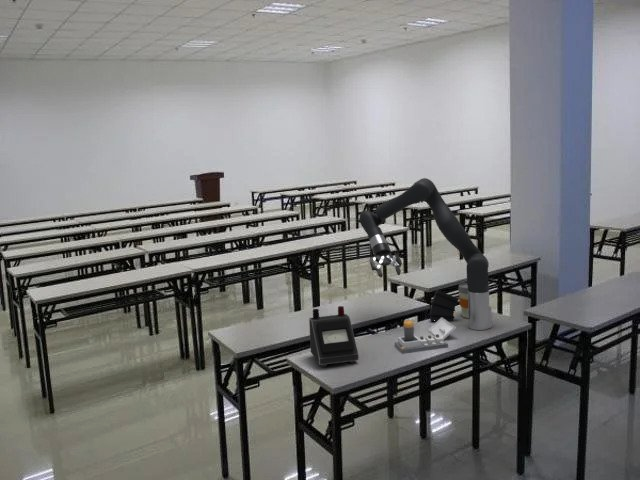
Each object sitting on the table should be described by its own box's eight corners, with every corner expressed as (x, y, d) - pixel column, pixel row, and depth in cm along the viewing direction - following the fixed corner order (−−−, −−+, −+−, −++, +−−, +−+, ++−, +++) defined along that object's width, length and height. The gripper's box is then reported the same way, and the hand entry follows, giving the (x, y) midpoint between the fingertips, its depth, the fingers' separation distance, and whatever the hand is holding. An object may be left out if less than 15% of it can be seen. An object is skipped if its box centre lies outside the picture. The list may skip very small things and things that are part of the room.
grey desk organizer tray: (439, 339, 255) (438, 330, 255) (447, 347, 246) (447, 338, 245) (394, 345, 252) (394, 336, 251) (402, 353, 242) (401, 344, 242)
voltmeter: (319, 368, 231) (317, 319, 228) (310, 355, 247) (308, 309, 244) (358, 363, 235) (357, 315, 232) (347, 350, 250) (346, 305, 248)
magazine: (423, 316, 283) (436, 289, 280) (448, 327, 283) (461, 299, 281) (424, 319, 279) (437, 290, 277) (449, 329, 279) (462, 301, 277)
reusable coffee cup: (474, 320, 276) (474, 289, 274) (453, 316, 286) (452, 285, 284) (490, 315, 284) (490, 285, 282) (469, 310, 294) (468, 281, 292)
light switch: (460, 332, 255) (446, 322, 269) (453, 325, 254) (440, 315, 268) (446, 346, 254) (433, 335, 269) (439, 338, 253) (427, 328, 267)
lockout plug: (412, 342, 250) (411, 319, 248) (415, 345, 246) (414, 322, 244) (403, 343, 249) (402, 321, 248) (406, 346, 246) (405, 323, 244)
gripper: (367, 243, 269) (377, 272, 260) (395, 240, 273) (407, 268, 264) (363, 253, 275) (373, 281, 266) (392, 249, 279) (402, 277, 270)
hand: (390, 275), depth 265 cm, fingers open, 8 cm apart
